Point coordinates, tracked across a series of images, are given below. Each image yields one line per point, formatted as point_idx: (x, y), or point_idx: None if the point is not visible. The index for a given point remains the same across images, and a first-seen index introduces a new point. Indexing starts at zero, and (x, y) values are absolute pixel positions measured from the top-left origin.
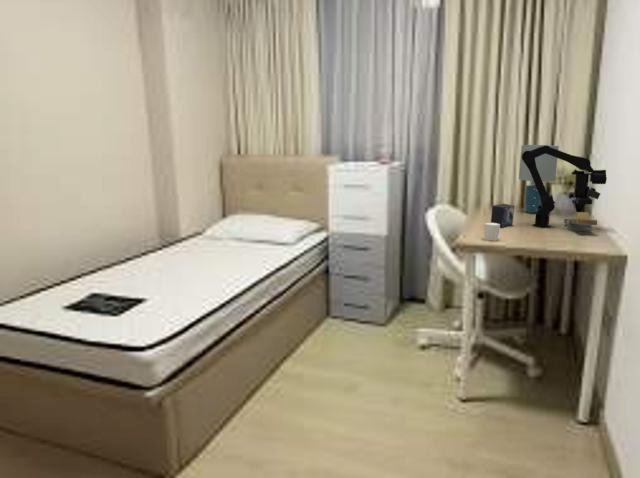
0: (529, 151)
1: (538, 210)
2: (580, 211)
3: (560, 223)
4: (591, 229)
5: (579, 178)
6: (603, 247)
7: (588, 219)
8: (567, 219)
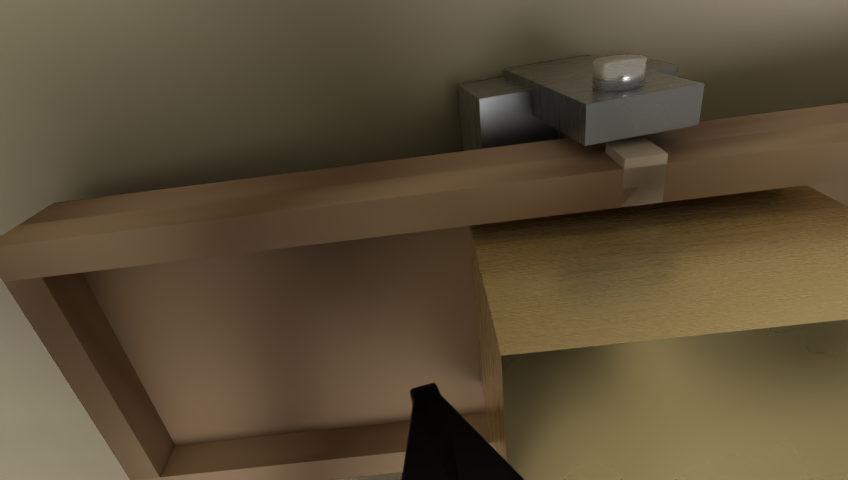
0: None
1: None
2: (507, 474)
3: (67, 452)
4: (653, 62)
5: None
6: None
7: (836, 201)
8: (383, 466)
